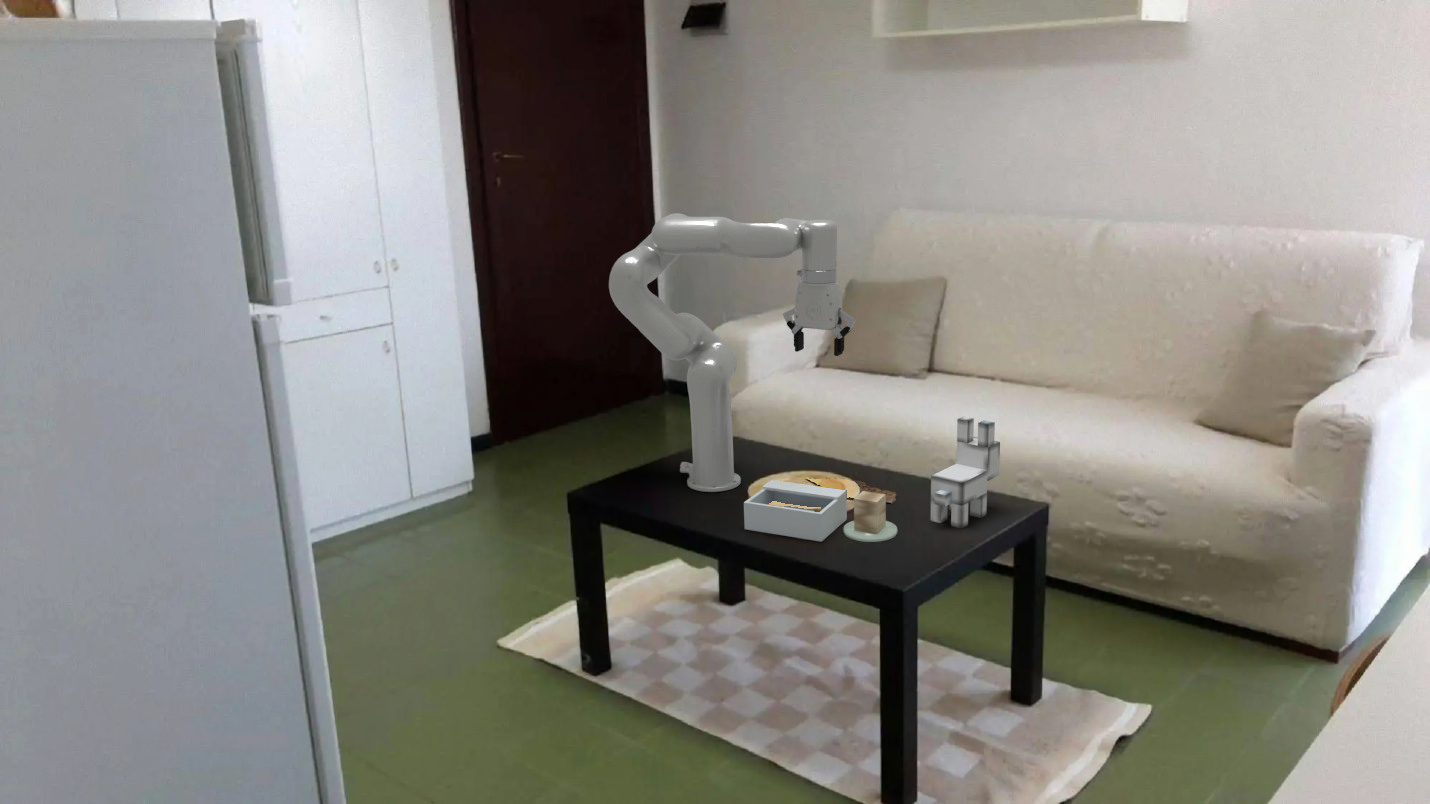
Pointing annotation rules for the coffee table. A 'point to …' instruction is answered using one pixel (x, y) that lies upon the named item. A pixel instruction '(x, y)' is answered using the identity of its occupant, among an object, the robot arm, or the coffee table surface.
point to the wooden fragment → (877, 491)
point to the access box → (796, 510)
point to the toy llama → (966, 474)
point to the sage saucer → (883, 535)
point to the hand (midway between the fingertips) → (818, 352)
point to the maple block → (869, 512)
